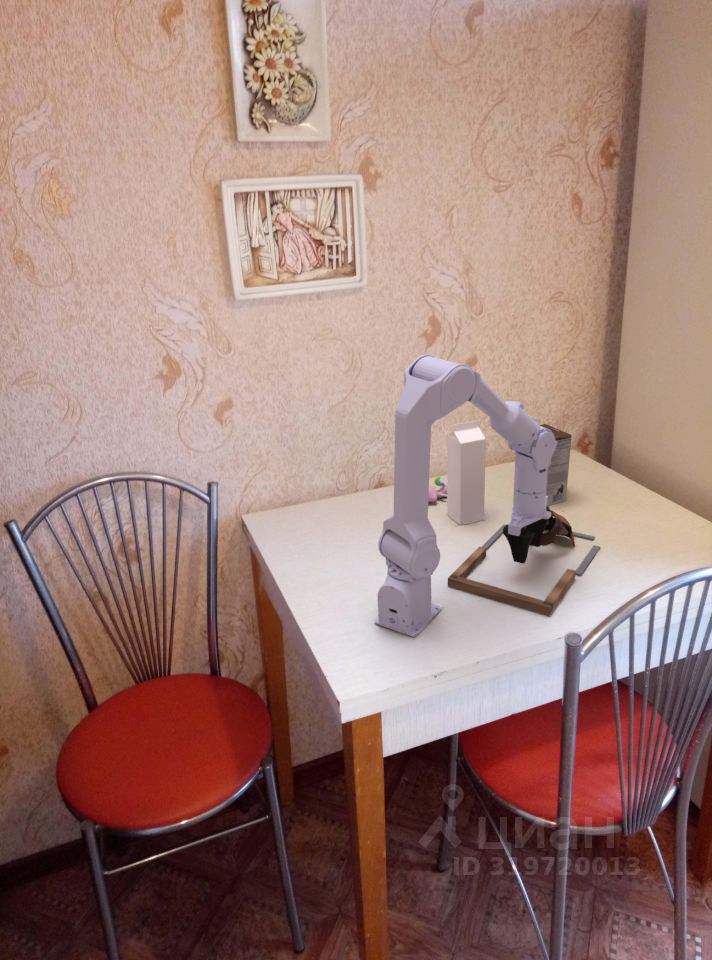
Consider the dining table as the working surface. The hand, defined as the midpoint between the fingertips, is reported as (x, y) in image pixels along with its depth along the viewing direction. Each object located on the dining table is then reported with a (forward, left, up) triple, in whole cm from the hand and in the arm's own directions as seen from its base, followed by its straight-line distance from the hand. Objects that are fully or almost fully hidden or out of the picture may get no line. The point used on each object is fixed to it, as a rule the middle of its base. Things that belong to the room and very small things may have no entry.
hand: (526, 553), depth 129 cm
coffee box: (+31, +8, -3) cm, 32 cm away
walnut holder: (-7, 0, -3) cm, 8 cm away
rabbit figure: (+17, +30, -3) cm, 34 cm away
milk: (+13, +19, -3) cm, 23 cm away
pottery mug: (+11, -1, -3) cm, 11 cm away
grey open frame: (+9, 0, -3) cm, 9 cm away
